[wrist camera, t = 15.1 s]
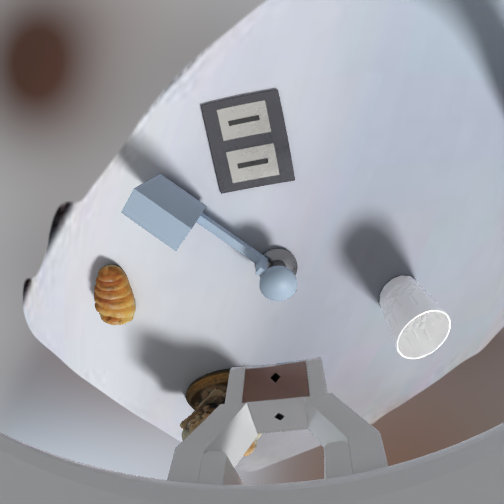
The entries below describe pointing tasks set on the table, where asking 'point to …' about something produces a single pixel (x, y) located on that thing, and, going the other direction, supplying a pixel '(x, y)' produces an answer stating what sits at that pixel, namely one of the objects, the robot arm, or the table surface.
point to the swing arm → (191, 211)
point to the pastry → (114, 296)
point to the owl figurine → (207, 401)
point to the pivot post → (281, 259)
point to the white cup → (413, 317)
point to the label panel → (248, 141)
